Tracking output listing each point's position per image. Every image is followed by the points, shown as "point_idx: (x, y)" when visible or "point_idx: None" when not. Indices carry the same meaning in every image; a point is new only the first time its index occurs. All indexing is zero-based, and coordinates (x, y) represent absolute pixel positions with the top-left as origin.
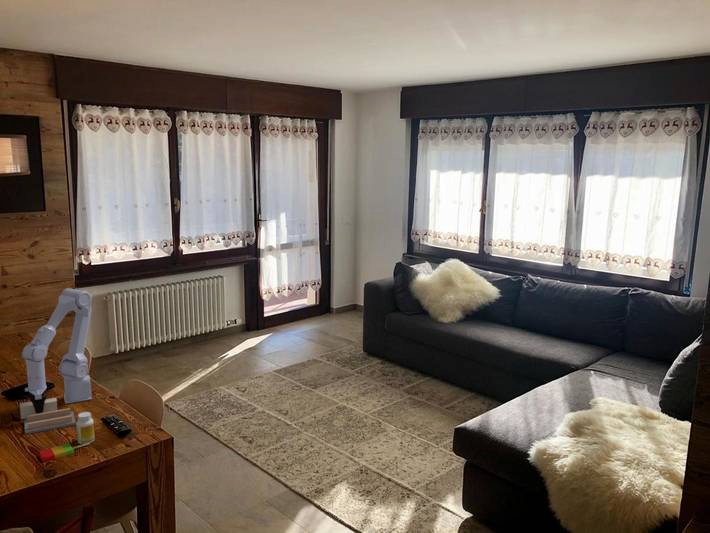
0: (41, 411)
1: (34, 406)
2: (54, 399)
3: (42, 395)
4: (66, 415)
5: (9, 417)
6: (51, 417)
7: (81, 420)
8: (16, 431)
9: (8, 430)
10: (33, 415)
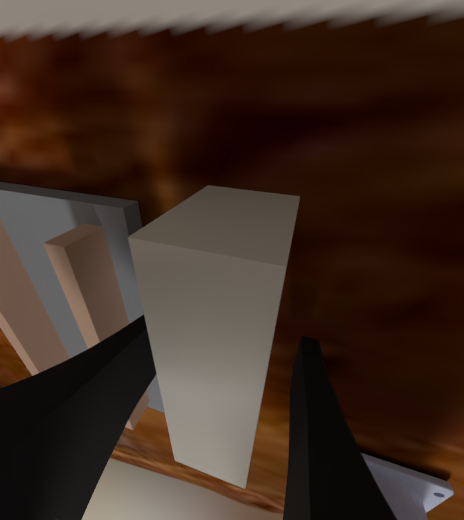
0: None
1: (83, 354)
2: (209, 469)
3: (286, 502)
4: None
5: (326, 63)
6: None
7: None
8: (6, 126)
9: (16, 55)
10: (63, 285)
